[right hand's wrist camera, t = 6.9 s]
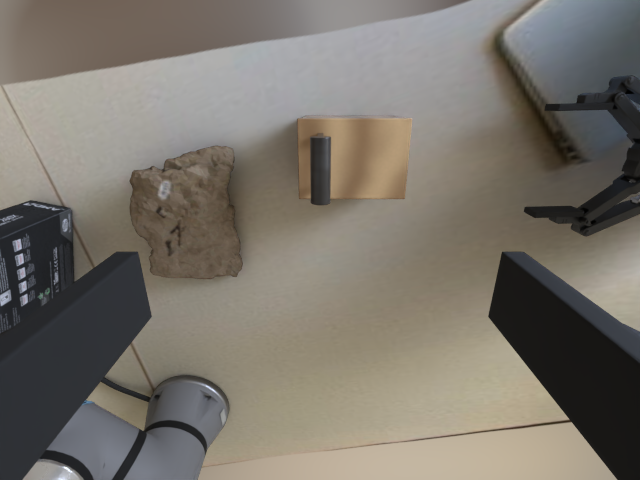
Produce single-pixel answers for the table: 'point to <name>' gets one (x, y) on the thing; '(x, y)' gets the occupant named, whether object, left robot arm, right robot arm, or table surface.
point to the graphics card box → (33, 258)
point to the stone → (188, 215)
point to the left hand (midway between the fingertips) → (539, 162)
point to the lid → (352, 158)
